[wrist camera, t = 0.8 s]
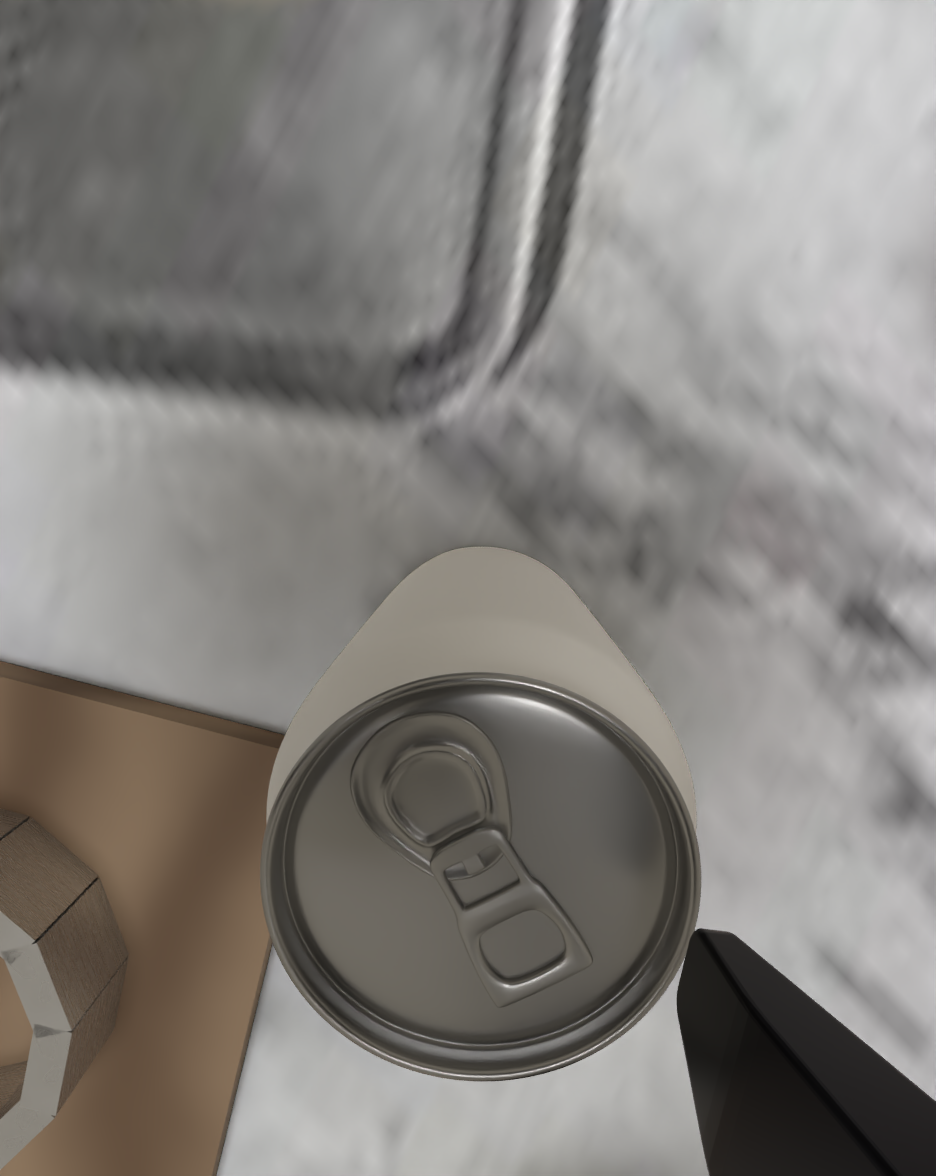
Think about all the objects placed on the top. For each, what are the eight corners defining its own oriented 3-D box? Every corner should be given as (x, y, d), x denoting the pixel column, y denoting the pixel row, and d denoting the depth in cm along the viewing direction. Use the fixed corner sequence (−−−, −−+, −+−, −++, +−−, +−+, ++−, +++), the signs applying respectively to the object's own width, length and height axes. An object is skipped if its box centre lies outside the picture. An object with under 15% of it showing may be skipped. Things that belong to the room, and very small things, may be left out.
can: (527, 502, 20) (587, 540, 8) (631, 695, 21) (823, 983, 9) (332, 611, 21) (126, 791, 9) (441, 793, 21) (386, 1185, 10)
